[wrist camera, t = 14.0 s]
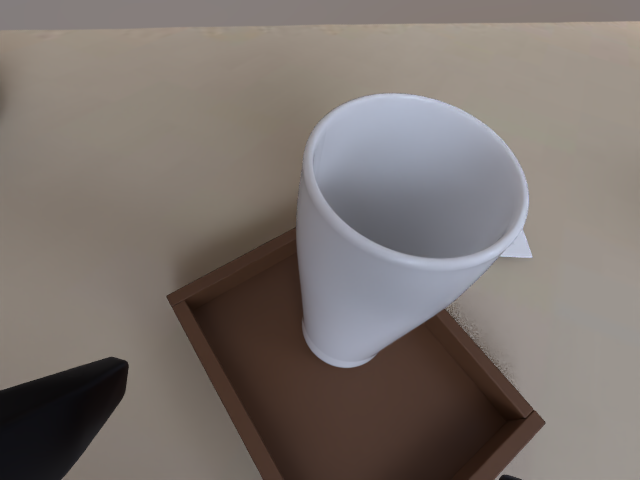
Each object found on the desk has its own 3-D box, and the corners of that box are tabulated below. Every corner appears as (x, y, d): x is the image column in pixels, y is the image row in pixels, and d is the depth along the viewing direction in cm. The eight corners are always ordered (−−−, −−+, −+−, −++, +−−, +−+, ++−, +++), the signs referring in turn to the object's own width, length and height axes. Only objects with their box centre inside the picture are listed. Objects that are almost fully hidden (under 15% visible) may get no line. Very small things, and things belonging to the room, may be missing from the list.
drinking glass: (280, 289, 24) (278, 98, 11) (375, 270, 26) (468, 81, 13) (303, 396, 21) (337, 295, 8) (410, 367, 22) (584, 243, 9)
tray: (520, 426, 22) (546, 422, 19) (339, 616, 17) (347, 640, 15) (343, 218, 28) (348, 199, 26) (176, 310, 23) (165, 295, 21)
